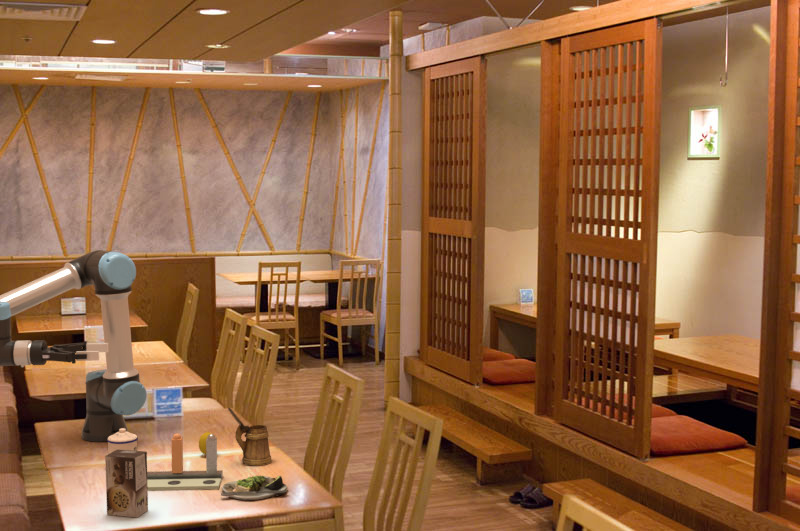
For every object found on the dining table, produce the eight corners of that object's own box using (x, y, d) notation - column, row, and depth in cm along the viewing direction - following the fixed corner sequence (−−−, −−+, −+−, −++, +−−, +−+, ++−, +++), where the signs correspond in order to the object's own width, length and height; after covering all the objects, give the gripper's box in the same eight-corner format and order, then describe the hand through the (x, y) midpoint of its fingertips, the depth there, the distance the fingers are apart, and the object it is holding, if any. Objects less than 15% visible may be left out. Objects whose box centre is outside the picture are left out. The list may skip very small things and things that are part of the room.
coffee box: (149, 510, 256) (148, 451, 255) (136, 518, 250) (135, 457, 248) (118, 507, 258) (117, 448, 257) (105, 515, 252) (104, 455, 251)
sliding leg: (173, 470, 284) (172, 432, 283) (182, 470, 284) (182, 432, 283) (171, 473, 281) (171, 434, 280) (181, 473, 281) (181, 434, 280)
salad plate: (233, 508, 259) (233, 492, 258) (206, 491, 273) (206, 475, 273) (296, 495, 270) (296, 479, 269) (267, 479, 284) (267, 464, 284)
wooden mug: (226, 460, 303) (226, 404, 301) (269, 457, 306) (269, 401, 305) (229, 468, 294) (229, 410, 292) (273, 464, 298) (273, 408, 296)
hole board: (134, 483, 279) (134, 479, 278) (221, 481, 281) (221, 478, 281) (129, 490, 272) (129, 487, 272) (218, 489, 274) (218, 485, 274)
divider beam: (130, 478, 283) (129, 433, 282) (222, 476, 285) (222, 432, 284) (128, 481, 280) (127, 436, 279) (221, 480, 282) (221, 435, 281)
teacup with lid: (138, 469, 292) (137, 431, 291) (107, 471, 290) (106, 433, 289) (138, 458, 304) (137, 422, 303) (108, 460, 301) (107, 423, 300)
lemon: (195, 457, 305) (195, 432, 304) (204, 452, 310) (204, 428, 310) (211, 459, 303) (211, 434, 303) (219, 454, 309) (219, 430, 308)
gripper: (43, 357, 303) (111, 356, 306) (20, 373, 279) (95, 371, 281) (42, 333, 303) (111, 332, 305) (19, 348, 278) (94, 346, 280)
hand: (103, 351), depth 293 cm, fingers open, 13 cm apart
